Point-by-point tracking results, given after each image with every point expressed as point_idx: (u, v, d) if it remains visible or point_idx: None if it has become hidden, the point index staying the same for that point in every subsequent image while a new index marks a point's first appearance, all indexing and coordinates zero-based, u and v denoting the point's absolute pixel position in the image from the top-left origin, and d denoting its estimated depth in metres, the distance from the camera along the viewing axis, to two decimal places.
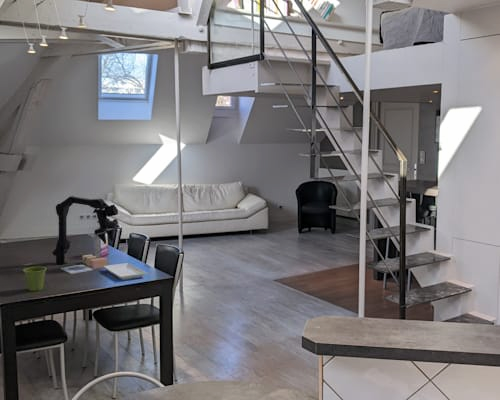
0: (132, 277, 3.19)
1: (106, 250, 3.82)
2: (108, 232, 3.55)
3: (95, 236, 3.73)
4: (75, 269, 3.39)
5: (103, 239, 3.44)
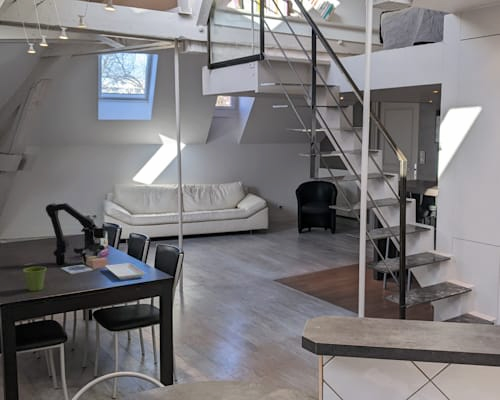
0: (130, 277, 3.18)
1: (106, 250, 3.82)
2: (94, 252, 3.61)
3: None
4: (75, 269, 3.39)
5: (83, 258, 3.55)
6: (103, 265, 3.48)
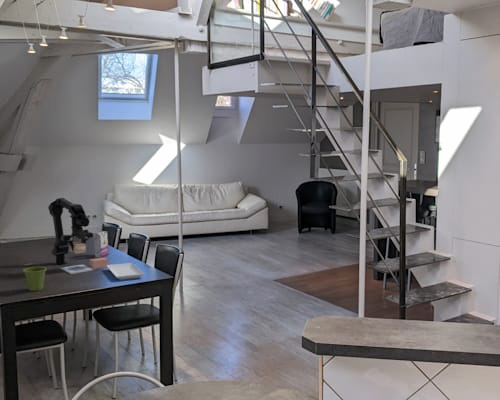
0: (129, 278, 3.18)
1: (106, 250, 3.82)
2: (82, 239, 3.44)
3: (95, 236, 3.73)
4: (75, 269, 3.39)
5: (70, 246, 3.39)
6: (103, 265, 3.48)
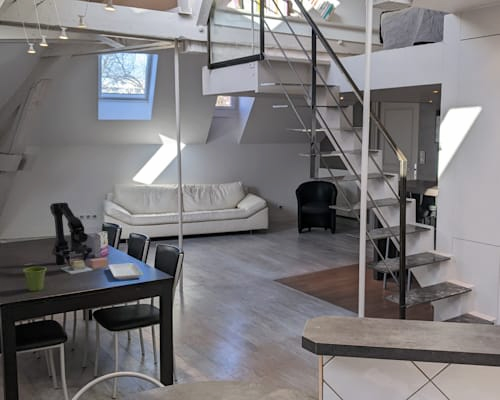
0: (127, 278, 3.18)
1: (106, 250, 3.82)
2: (83, 254, 3.45)
3: (95, 236, 3.73)
4: None
5: (67, 261, 3.38)
6: (103, 265, 3.48)
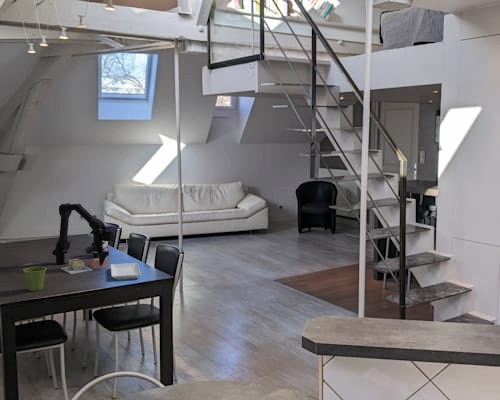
0: (125, 278, 3.17)
1: (106, 250, 3.82)
2: None
3: None
4: None
5: None
6: (103, 265, 3.48)
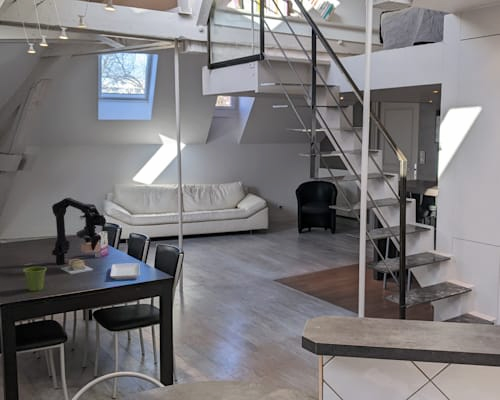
0: (124, 278, 3.17)
1: (106, 250, 3.82)
2: None
3: None
4: None
5: None
6: (95, 249, 3.45)
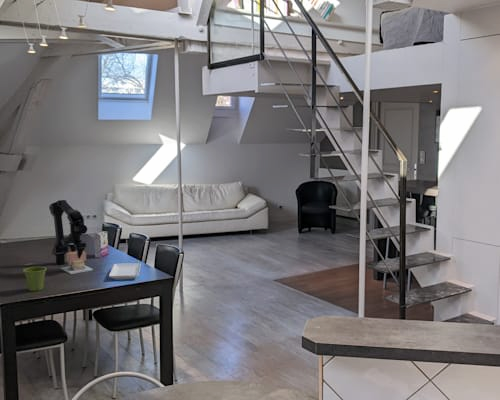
0: (123, 278, 3.17)
1: (106, 250, 3.82)
2: None
3: (95, 236, 3.73)
4: None
5: None
6: (80, 258, 3.40)
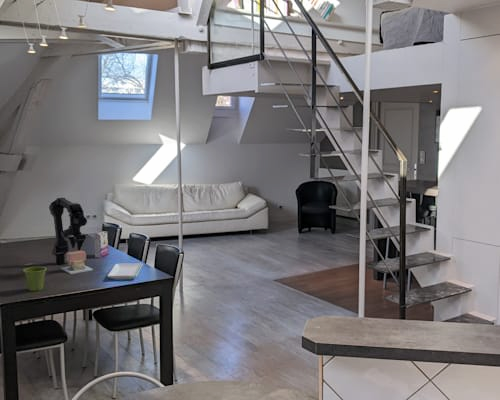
0: (121, 278, 3.17)
1: (106, 250, 3.82)
2: None
3: (95, 236, 3.73)
4: None
5: None
6: (80, 258, 3.40)
